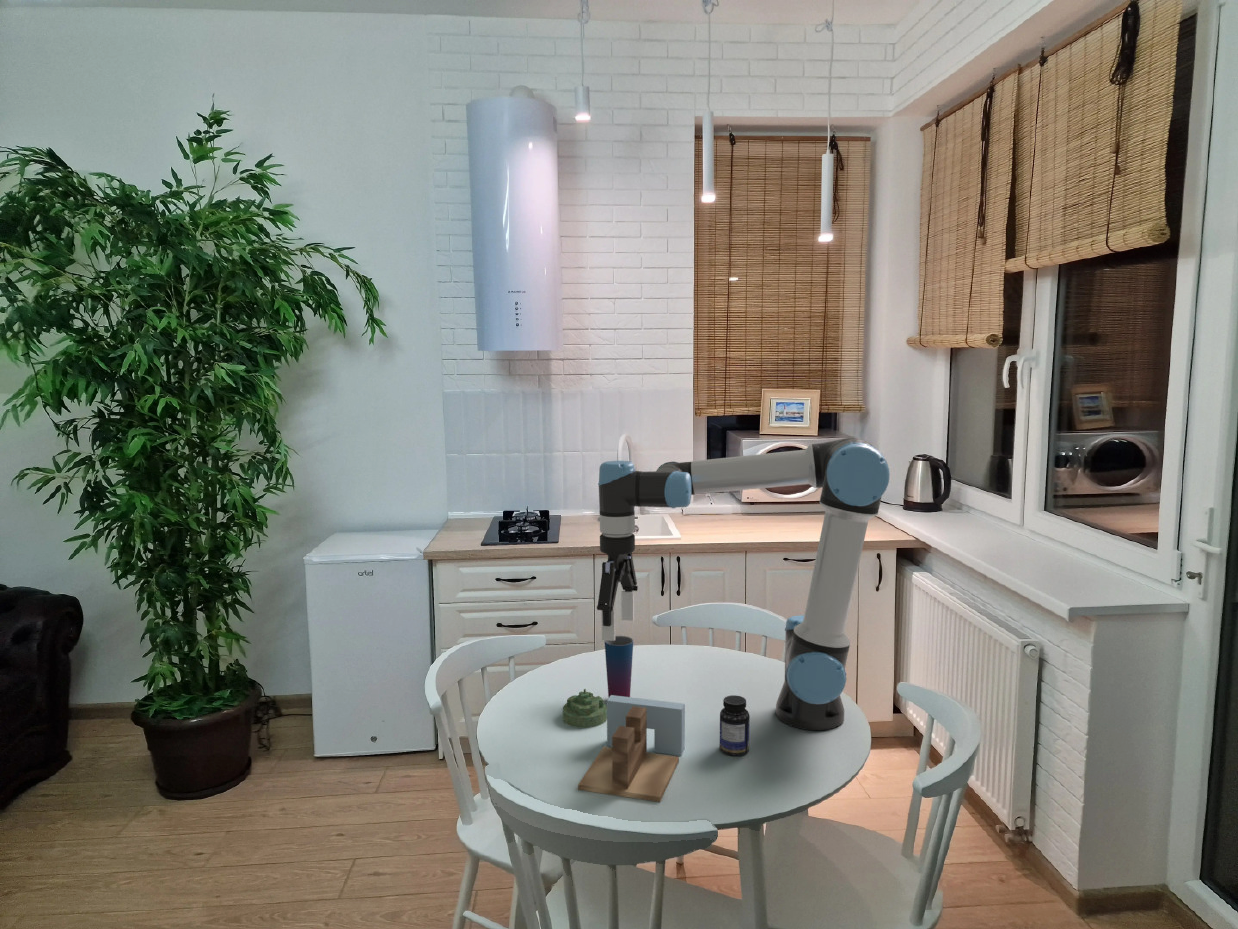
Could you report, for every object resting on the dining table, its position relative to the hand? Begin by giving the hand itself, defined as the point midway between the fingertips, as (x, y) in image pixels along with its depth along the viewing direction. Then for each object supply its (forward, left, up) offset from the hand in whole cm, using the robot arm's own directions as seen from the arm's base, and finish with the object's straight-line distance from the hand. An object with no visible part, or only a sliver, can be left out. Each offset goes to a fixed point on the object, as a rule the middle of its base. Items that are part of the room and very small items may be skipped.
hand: (618, 629), depth 181 cm
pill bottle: (-26, +3, -23) cm, 35 cm away
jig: (-8, +19, -23) cm, 31 cm away
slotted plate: (-8, +7, -23) cm, 25 cm away
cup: (+4, -14, -23) cm, 27 cm away
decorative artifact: (+9, -3, -23) cm, 25 cm away
